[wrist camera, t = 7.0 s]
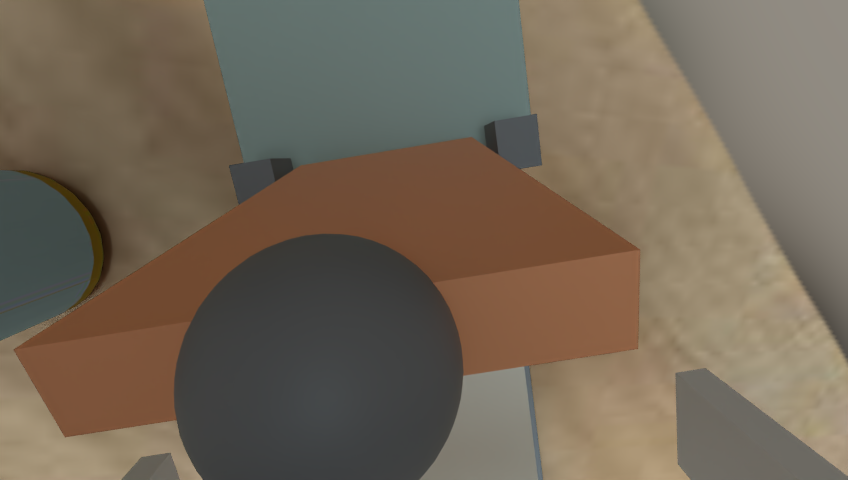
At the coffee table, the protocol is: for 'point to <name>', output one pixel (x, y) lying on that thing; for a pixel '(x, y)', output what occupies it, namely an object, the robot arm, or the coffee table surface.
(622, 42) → the coffee table surface
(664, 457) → the coffee table surface
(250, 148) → the rail bench
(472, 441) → the carriage
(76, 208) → the bottle
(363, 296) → the lever
